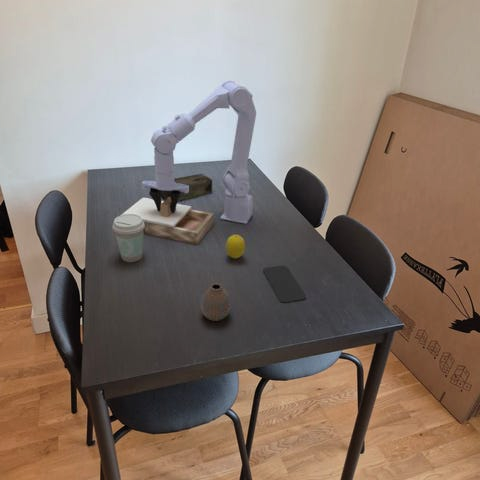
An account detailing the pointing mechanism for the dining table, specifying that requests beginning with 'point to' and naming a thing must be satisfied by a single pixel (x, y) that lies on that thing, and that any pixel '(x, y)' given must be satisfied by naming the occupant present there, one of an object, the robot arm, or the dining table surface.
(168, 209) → the lid
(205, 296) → the vase
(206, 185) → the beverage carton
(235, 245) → the lemon
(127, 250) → the coffee cup
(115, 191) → the dining table surface
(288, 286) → the phone
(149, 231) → the box
